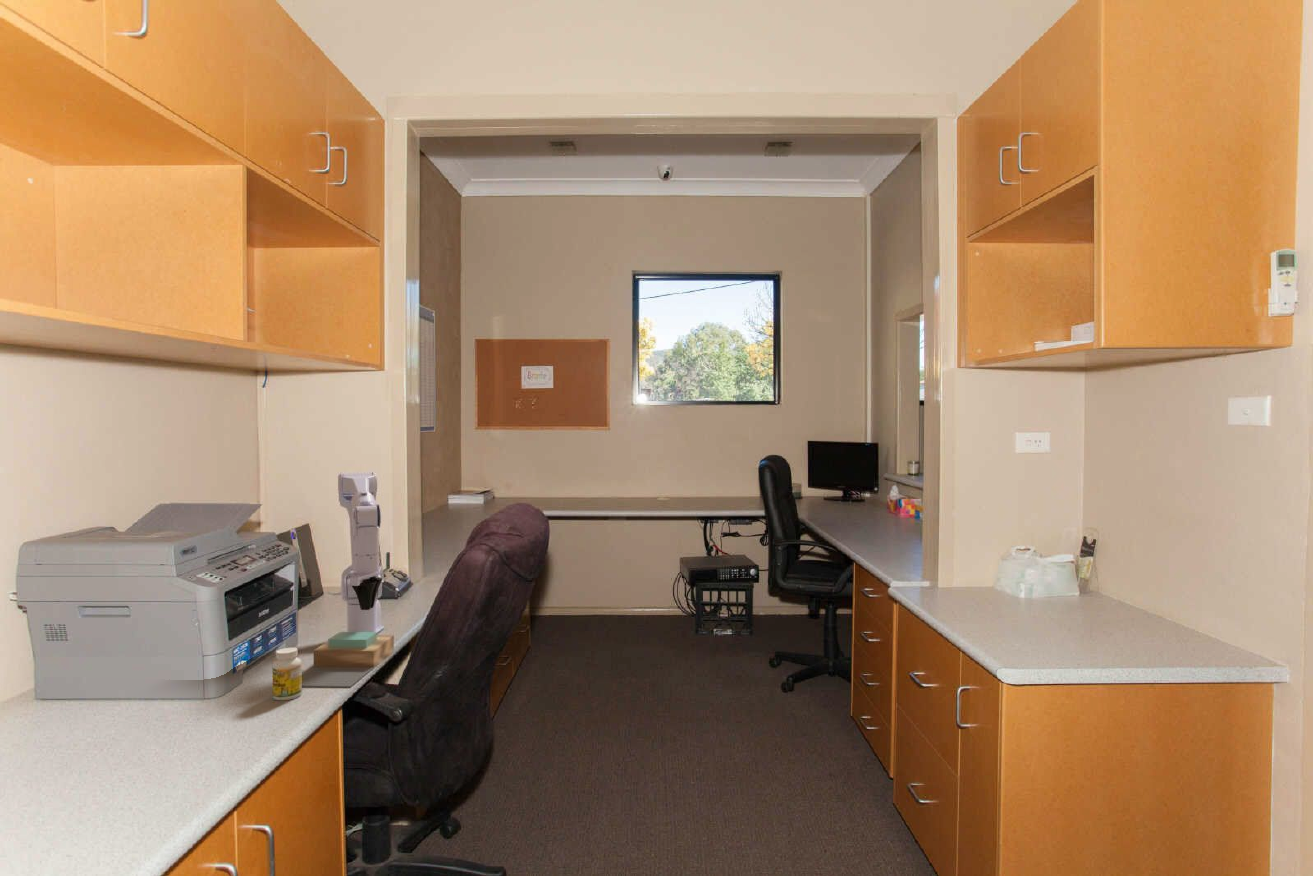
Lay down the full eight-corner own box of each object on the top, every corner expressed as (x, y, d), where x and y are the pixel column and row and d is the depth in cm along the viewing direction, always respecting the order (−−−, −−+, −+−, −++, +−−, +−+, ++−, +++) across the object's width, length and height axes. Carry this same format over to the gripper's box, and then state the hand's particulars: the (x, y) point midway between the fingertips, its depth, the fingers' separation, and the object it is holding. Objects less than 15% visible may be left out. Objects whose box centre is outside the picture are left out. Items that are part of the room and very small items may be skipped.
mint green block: (340, 640, 176) (340, 631, 176) (376, 640, 175) (376, 632, 175) (328, 647, 170) (328, 639, 170) (366, 648, 169) (366, 639, 169)
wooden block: (337, 651, 180) (337, 635, 180) (393, 651, 179) (393, 635, 179) (313, 667, 168) (313, 650, 168) (373, 668, 167) (373, 651, 167)
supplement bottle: (307, 693, 152) (307, 648, 152) (285, 702, 147) (285, 655, 147) (289, 689, 154) (288, 645, 154) (266, 698, 149) (266, 652, 149)
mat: (313, 667, 168) (313, 666, 168) (373, 668, 167) (373, 667, 167) (285, 687, 156) (285, 685, 156) (350, 687, 155) (350, 686, 155)
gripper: (363, 549, 187) (363, 601, 187) (337, 559, 173) (337, 616, 173) (390, 549, 187) (390, 601, 187) (366, 559, 172) (366, 616, 173)
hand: (367, 608), depth 180 cm, fingers closed
